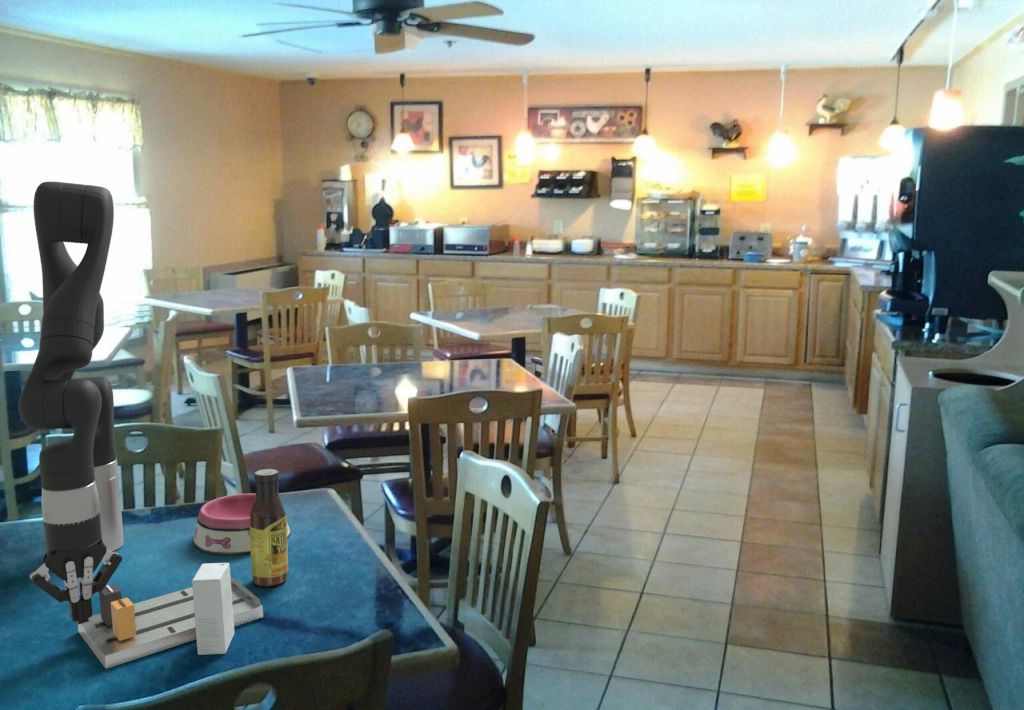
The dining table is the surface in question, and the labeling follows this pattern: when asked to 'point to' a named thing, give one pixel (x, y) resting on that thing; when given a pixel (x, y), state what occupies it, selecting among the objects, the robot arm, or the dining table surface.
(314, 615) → the dining table surface
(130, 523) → the dining table surface
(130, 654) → the console
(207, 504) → the dog bowl
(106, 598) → the block
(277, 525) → the sauce bottle
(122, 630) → the fader orange
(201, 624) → the skincare box
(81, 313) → the robot arm
